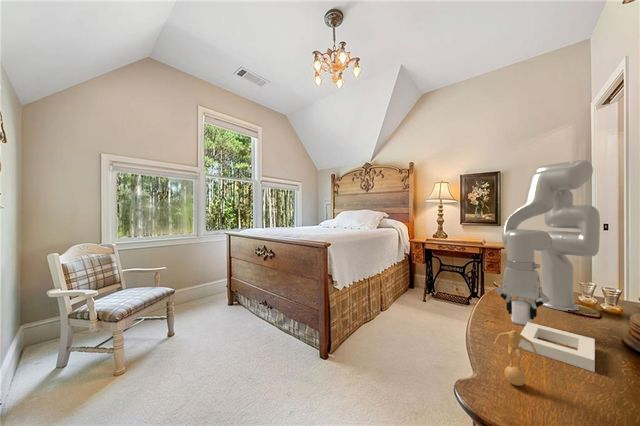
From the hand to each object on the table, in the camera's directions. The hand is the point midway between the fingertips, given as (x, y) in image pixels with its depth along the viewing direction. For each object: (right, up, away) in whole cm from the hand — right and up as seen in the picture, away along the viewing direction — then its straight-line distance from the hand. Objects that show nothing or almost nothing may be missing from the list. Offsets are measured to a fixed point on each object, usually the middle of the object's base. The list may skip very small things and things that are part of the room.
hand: (521, 315), depth 87 cm
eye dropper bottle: (0, -3, 0) cm, 3 cm away
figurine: (-26, -4, -29) cm, 39 cm away
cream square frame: (-3, -3, -16) cm, 17 cm away
